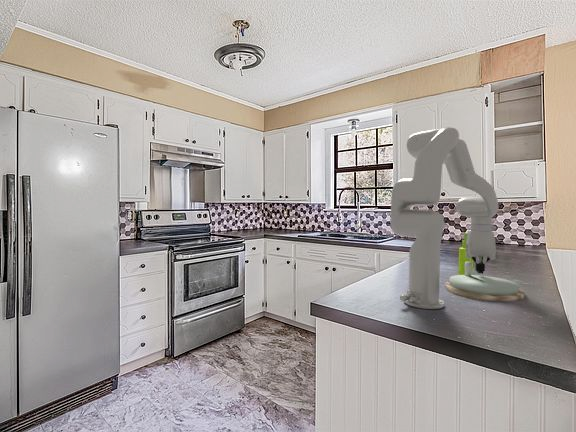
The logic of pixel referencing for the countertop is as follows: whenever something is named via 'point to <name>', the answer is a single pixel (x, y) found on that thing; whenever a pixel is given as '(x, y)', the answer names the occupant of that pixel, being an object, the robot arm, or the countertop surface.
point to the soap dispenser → (463, 257)
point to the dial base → (485, 296)
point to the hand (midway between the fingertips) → (480, 272)
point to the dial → (483, 283)
